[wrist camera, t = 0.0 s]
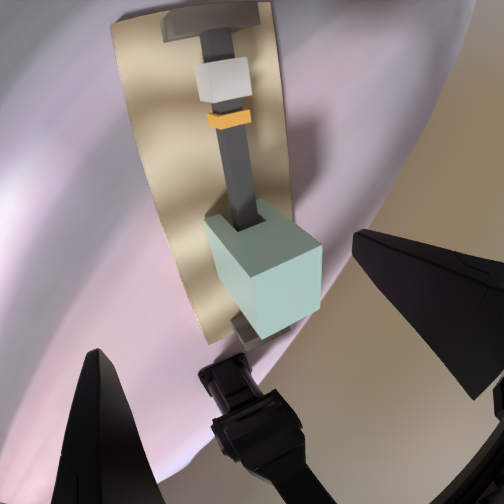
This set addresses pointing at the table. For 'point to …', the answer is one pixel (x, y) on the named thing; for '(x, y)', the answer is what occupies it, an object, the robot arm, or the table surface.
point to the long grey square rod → (229, 119)
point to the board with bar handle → (202, 139)
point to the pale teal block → (268, 268)
